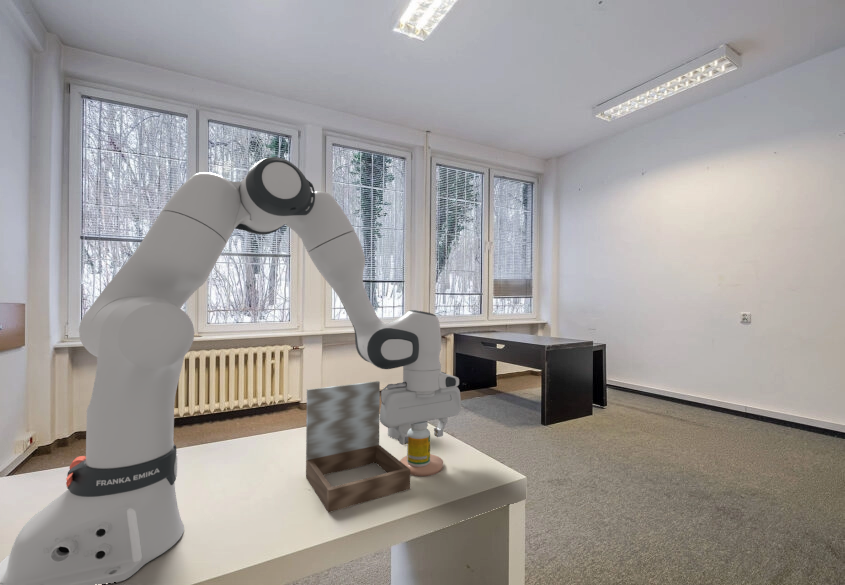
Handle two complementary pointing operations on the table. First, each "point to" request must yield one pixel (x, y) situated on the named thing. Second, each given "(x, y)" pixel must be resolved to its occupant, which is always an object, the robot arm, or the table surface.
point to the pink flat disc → (427, 470)
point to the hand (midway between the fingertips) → (421, 439)
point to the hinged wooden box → (349, 445)
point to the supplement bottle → (418, 445)
